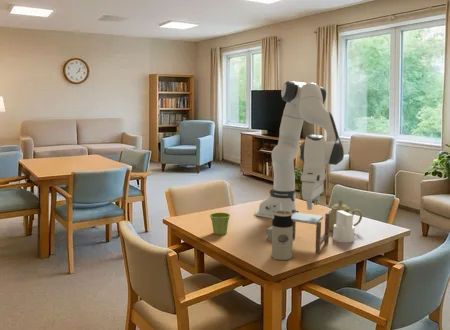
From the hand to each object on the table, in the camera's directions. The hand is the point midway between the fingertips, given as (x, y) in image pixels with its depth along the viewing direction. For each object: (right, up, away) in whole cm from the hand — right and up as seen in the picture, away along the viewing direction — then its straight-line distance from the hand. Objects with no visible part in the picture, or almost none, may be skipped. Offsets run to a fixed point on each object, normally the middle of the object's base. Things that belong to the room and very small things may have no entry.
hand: (312, 206), depth 188 cm
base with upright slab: (+16, -16, +12) cm, 26 cm away
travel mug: (-14, -19, -10) cm, 26 cm away
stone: (-15, -16, +13) cm, 25 cm away
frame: (-3, -17, +4) cm, 17 cm away
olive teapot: (+20, -14, +27) cm, 36 cm away
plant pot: (-39, -14, +21) cm, 46 cm away
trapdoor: (-4, -6, +3) cm, 8 cm away
